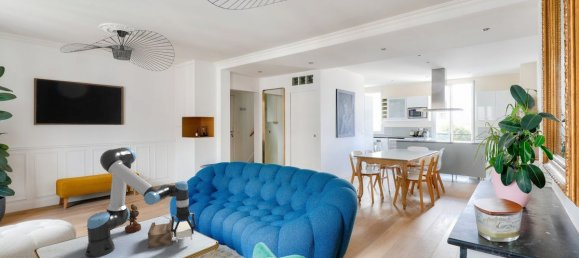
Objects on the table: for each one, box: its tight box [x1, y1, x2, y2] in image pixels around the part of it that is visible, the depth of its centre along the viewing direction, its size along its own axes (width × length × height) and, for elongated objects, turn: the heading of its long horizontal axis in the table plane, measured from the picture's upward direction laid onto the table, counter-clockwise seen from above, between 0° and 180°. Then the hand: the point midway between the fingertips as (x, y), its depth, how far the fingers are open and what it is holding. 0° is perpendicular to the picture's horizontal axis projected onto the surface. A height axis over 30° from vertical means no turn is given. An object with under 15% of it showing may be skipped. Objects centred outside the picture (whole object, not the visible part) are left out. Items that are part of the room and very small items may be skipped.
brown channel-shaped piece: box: [147, 219, 174, 249], centre depth 188 cm, size 14×18×10 cm
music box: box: [124, 203, 142, 234], centre depth 205 cm, size 15×11×20 cm
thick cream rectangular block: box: [176, 220, 192, 239], centre depth 185 cm, size 8×18×4 cm, turn 19°
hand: (184, 240), depth 179 cm, fingers closed on thick cream rectangular block, 8 cm apart
